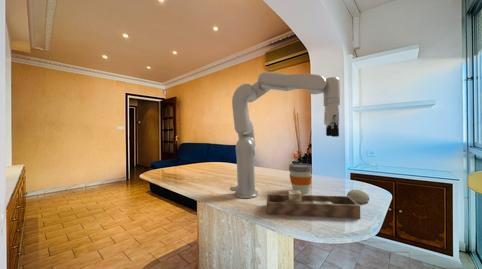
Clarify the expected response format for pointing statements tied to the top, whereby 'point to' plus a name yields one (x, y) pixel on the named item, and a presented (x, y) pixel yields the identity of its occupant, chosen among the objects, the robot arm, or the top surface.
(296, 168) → the reusable coffee cup
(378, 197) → the top surface
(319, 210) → the tray
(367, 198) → the sea urchin shell
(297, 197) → the maple block
